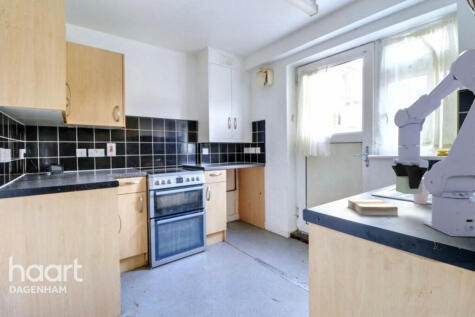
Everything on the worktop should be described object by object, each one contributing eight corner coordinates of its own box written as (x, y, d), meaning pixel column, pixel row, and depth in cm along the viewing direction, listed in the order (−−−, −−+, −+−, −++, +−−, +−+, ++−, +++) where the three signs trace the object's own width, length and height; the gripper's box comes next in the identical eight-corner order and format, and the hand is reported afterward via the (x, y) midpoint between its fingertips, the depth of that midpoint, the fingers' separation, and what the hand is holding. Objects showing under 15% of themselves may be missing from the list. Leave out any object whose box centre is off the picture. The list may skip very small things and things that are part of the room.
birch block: (397, 216, 72) (397, 207, 72) (361, 216, 73) (361, 207, 73) (379, 207, 83) (379, 199, 83) (348, 207, 84) (348, 199, 84)
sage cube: (421, 193, 71) (422, 178, 71) (405, 193, 72) (405, 178, 71) (411, 190, 76) (411, 176, 76) (395, 190, 77) (396, 176, 76)
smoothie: (423, 201, 89) (423, 165, 88) (436, 205, 82) (436, 167, 82) (406, 201, 89) (406, 166, 89) (417, 205, 83) (417, 167, 82)
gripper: (439, 145, 66) (438, 191, 66) (407, 146, 80) (406, 183, 81) (414, 146, 66) (413, 191, 67) (386, 146, 81) (386, 183, 81)
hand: (408, 187), depth 74 cm, fingers closed on sage cube, 5 cm apart
